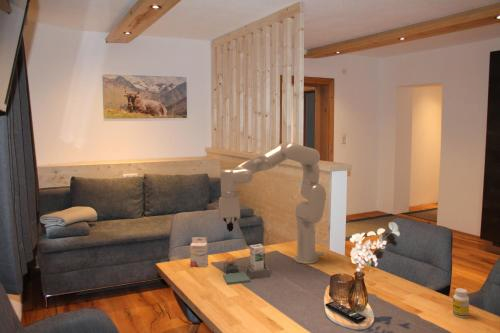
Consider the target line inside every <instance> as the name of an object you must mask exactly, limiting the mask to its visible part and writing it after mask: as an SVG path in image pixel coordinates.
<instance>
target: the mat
mask: <svg viewBox="0 0 500 333" xmlns="http://www.w3.org/2000/svg"><path fill="white" fill-rule="evenodd" d="M222 277H223V280H224V281H225V283H226V285H227V286H228V285H235V284H236V285H237V284H244V283H251V278H250V276H249V275H248V273H247V272H245V271H243V272H242V271H241V272H238V273H231V274H226V273H225V274H222Z"/></svg>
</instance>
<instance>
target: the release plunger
mask: <svg viewBox="0 0 500 333" xmlns="http://www.w3.org/2000/svg"><path fill="white" fill-rule="evenodd" d="M234 261H235V258H234V257H228V258H226V260H225V262H227V263H228V264H229V265H231V264H232V263H234Z"/></svg>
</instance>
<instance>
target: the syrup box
mask: <svg viewBox="0 0 500 333" xmlns="http://www.w3.org/2000/svg"><path fill="white" fill-rule="evenodd" d="M249 260H250V263H249V265H251V270H252V271H255V270H264V269H265V265H266V248H265V245H264V244H261V243H258V244H251V245H249Z"/></svg>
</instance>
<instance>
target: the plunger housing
mask: <svg viewBox="0 0 500 333" xmlns="http://www.w3.org/2000/svg"><path fill="white" fill-rule="evenodd" d="M223 271H224V273H225V274H230V273H239V265H238V264H237V262H236V261H235V260H234V263H232V264H231V265H229V264H228V263H227V262H226V261H225V262H223Z"/></svg>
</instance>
